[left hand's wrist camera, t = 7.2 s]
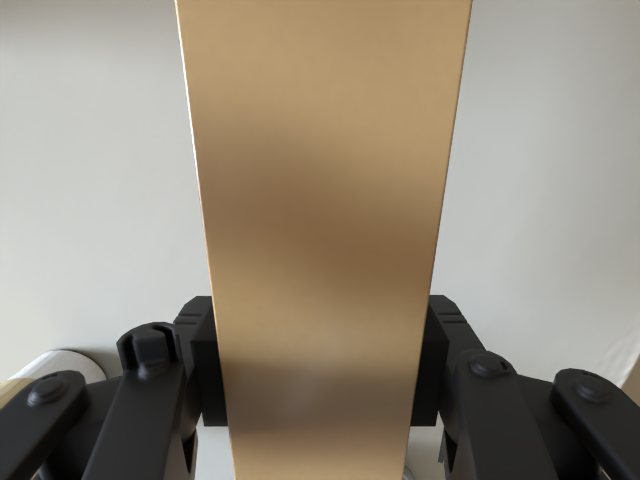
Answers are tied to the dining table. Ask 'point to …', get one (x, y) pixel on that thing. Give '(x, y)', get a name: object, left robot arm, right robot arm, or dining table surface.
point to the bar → (321, 217)
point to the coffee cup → (48, 365)
